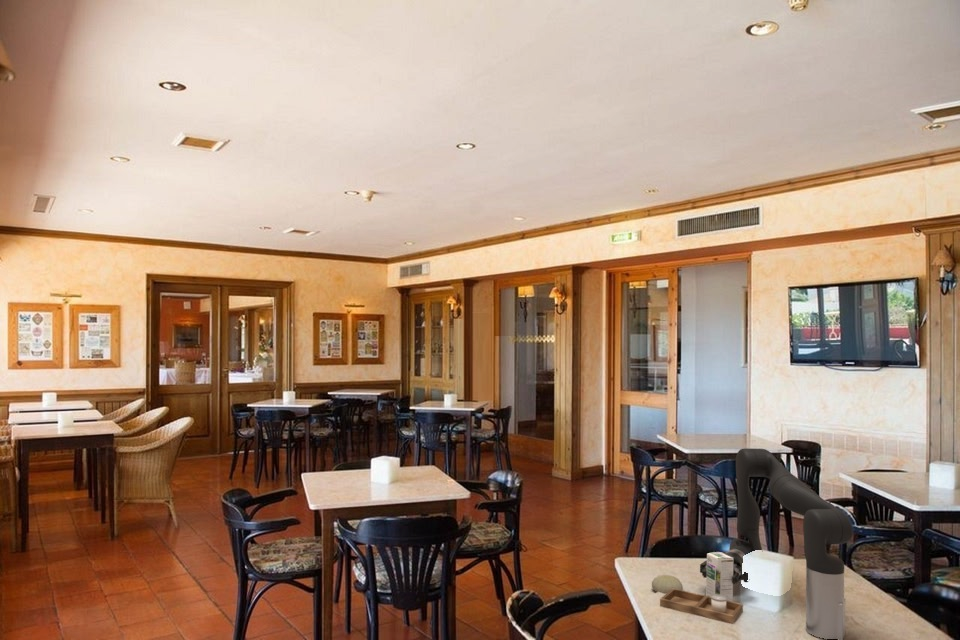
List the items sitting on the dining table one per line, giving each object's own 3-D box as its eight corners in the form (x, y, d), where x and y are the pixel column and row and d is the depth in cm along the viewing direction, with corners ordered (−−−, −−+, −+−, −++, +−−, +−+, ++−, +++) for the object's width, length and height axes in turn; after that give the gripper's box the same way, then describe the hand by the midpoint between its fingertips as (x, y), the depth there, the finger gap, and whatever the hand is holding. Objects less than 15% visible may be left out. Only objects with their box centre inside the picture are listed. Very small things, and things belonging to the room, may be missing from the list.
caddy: (742, 614, 194) (742, 604, 194) (732, 627, 185) (732, 616, 185) (672, 598, 206) (672, 588, 206) (659, 609, 196) (660, 599, 197)
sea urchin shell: (687, 592, 205) (668, 572, 207) (668, 609, 206) (649, 589, 208) (684, 582, 214) (666, 563, 216) (666, 598, 215) (648, 579, 217)
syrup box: (705, 601, 204) (705, 552, 204) (721, 599, 206) (722, 551, 206) (717, 608, 198) (717, 558, 199) (733, 606, 200) (734, 557, 201)
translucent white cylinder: (728, 612, 193) (728, 596, 193) (724, 616, 189) (724, 600, 190) (713, 608, 195) (713, 593, 195) (709, 613, 192) (709, 597, 192)
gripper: (710, 547, 219) (695, 560, 206) (756, 556, 211) (743, 569, 198) (710, 571, 219) (695, 584, 205) (756, 580, 211) (743, 595, 197)
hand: (718, 577), depth 202 cm, fingers open, 8 cm apart
